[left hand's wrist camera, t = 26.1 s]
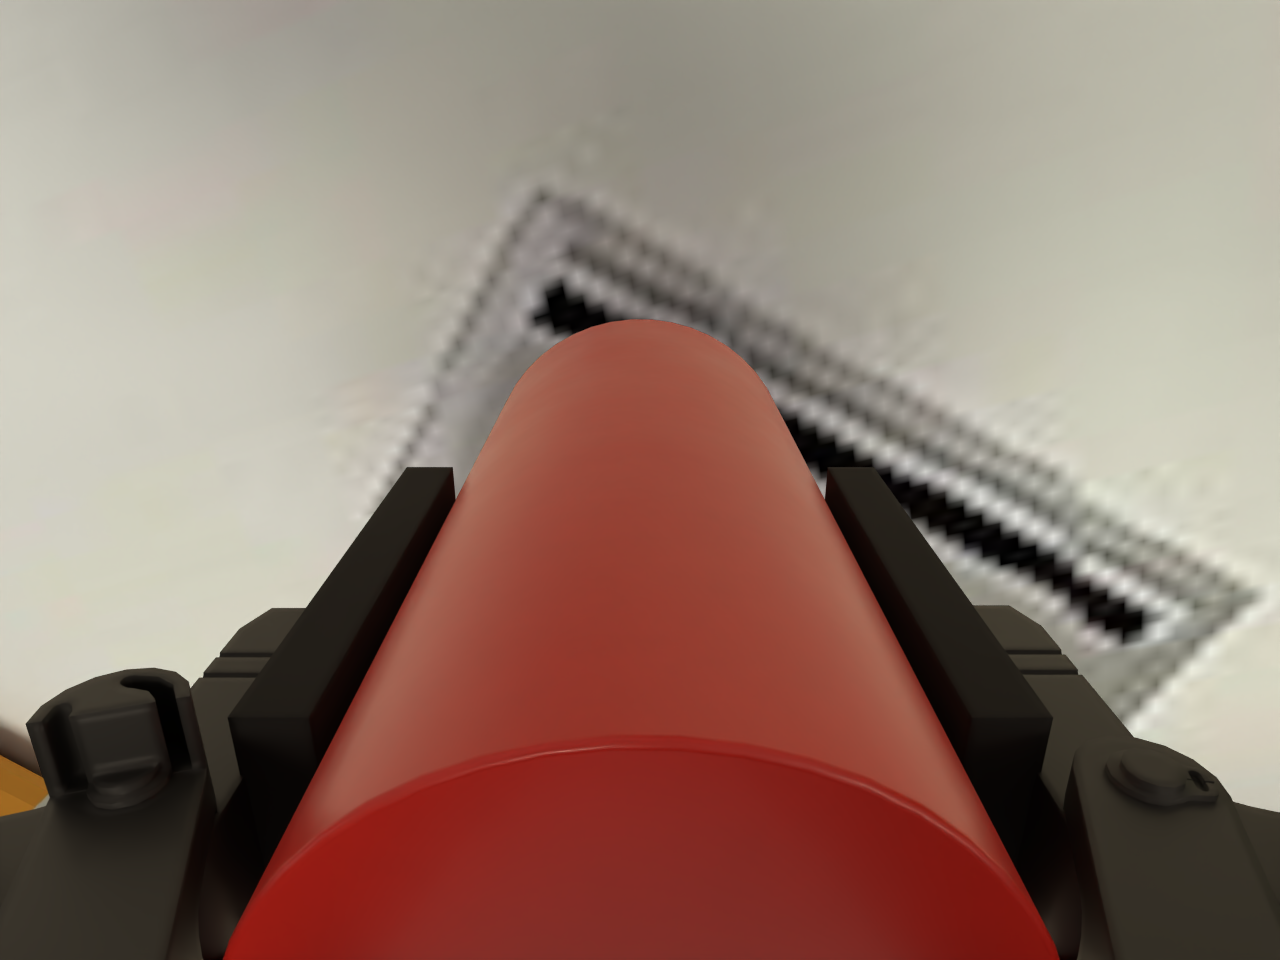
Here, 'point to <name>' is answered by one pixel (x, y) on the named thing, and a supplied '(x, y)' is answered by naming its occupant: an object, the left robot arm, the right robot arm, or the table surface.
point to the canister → (640, 711)
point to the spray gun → (20, 789)
